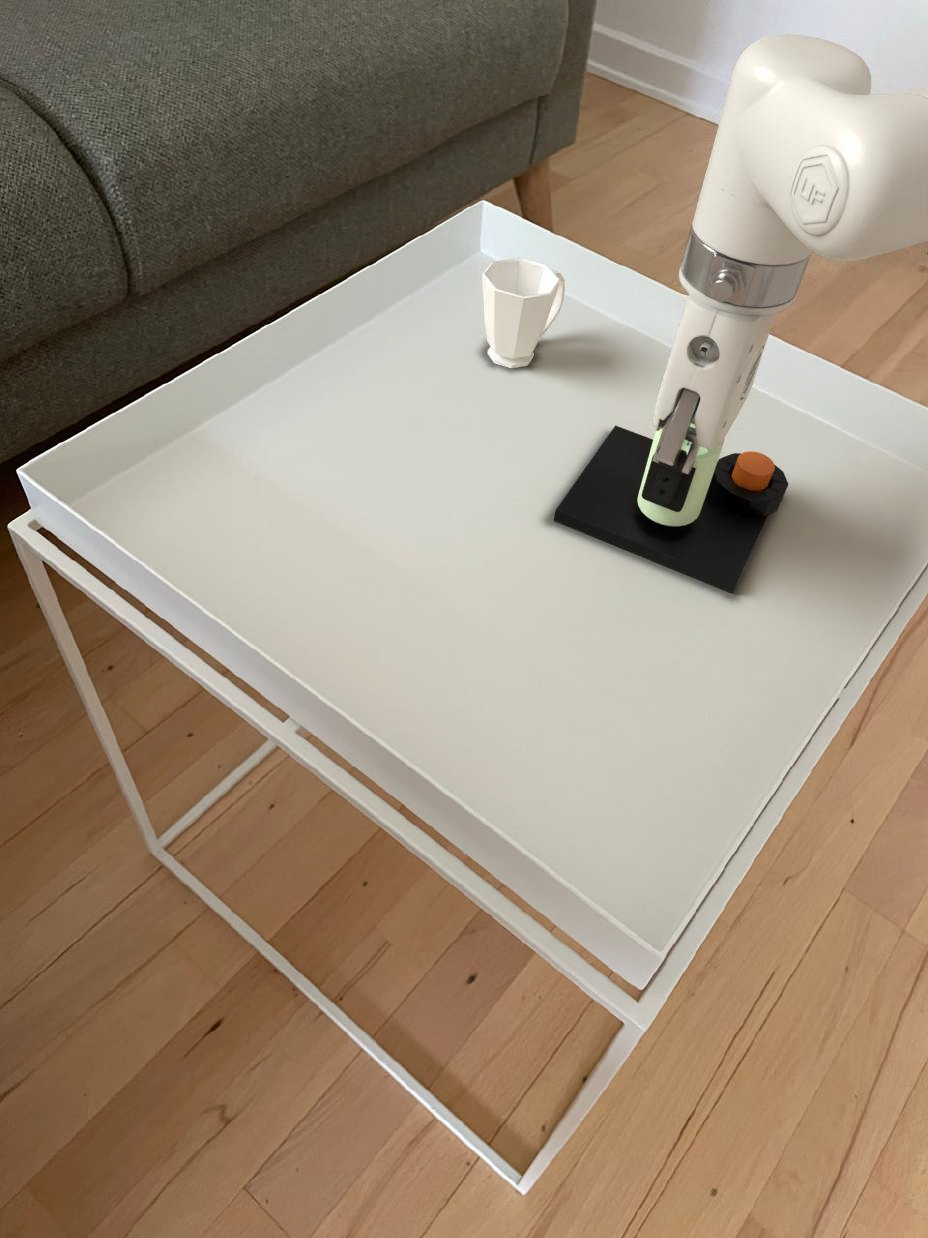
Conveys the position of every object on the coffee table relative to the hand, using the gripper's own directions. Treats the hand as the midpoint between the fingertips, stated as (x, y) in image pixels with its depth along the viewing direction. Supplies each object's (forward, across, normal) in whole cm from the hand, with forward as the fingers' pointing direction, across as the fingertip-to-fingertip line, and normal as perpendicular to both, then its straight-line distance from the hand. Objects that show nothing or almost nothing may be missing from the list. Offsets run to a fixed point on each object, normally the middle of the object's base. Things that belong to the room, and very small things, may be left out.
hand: (672, 483), depth 75 cm
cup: (+5, +17, +20) cm, 27 cm away
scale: (+5, +3, 0) cm, 5 cm away
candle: (+3, +1, 0) cm, 3 cm away
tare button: (+2, +7, -5) cm, 8 cm away
